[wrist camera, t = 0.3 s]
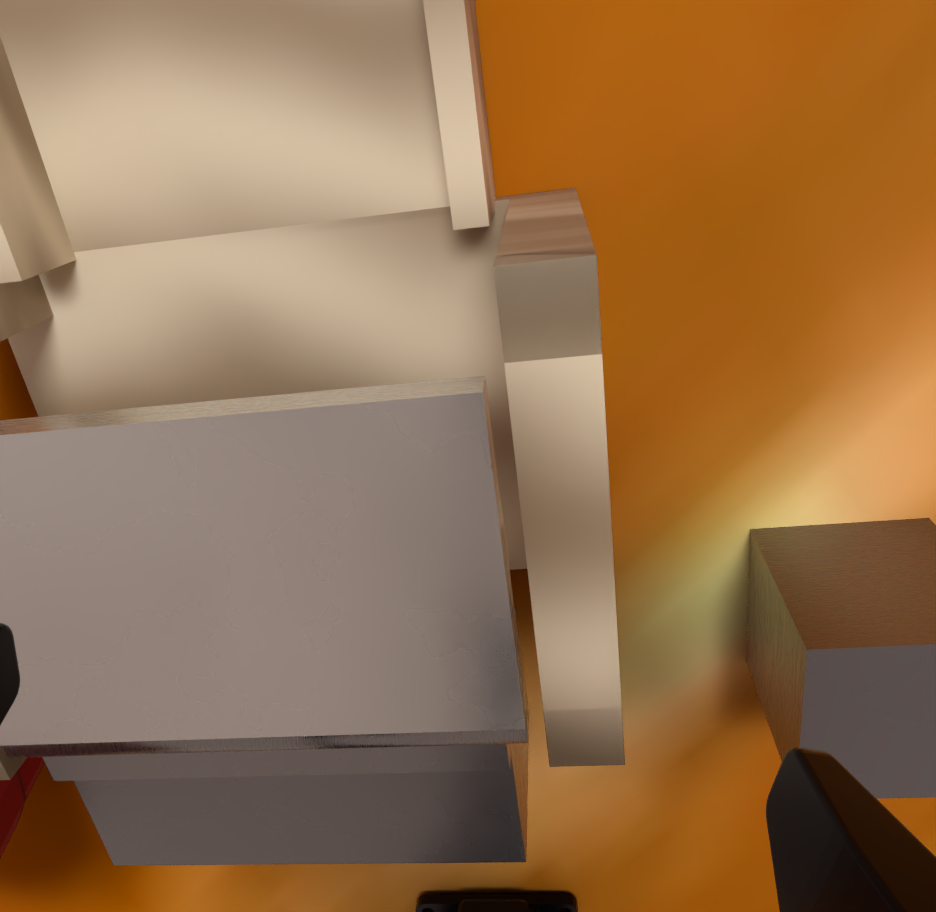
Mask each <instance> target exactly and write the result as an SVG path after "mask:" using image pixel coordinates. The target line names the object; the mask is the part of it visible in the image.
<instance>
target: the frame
mask: <svg viewBox="0 0 936 912" xmlns="http://www.w3.org/2000/svg"><path fill="white" fill-rule="evenodd" d="M7 338H8V341H9V343H10V346H11V348H12V351H13V353H14V356H15V358H16V361H17V364H18V366H19V369H20V371H21V374H22V376H23V379H24V381H25V384H26V386H27V389H28V391H29V394H30V396H31V399H32V401H33V404H34V406H35V409H36V412H37V414H38V417H41V416H52V415H63V414H74V413H85V412H96V411H107V410H118V409H129V408H139V407H150V406H161V405H172V404H183V403H194V402H205V401H216V400H226V399H237V398H248V397H259V396H270V395H281V394H292V393H303V392H313V391H324V390H335V389H346V388H357V387H368V386H379V385H390V384H401V383H411V382H422V381H433V380H444V379H455V378H466V377H477V376H485V377H486V385H487V393H488V401H489V409H490V417H491V425H492V433H493V441H494V449H495V457H496V465H497V473H498V481H499V489H500V497H501V505H502V513H503V521H504V529H505V537H506V545H507V553H508V561H509V569H510V570H512V569H527V570H528V579H529V588H530V597H531V605H532V614H533V623H534V632H535V641H536V650H537V659H538V667H539V676H540V685H541V694H542V703H543V712H544V721H545V730H546V738H547V747H548V756H549V765H550V767H556V766H597V765H625V758H624V740H623V722H622V704H621V686H620V668H619V650H618V632H617V614H616V596H615V578H614V560H613V542H612V524H611V506H610V488H609V470H608V452H607V434H606V416H605V398H604V380H603V362H602V344H601V326H600V308H599V290H598V272H597V255H596V252H595V249H594V245H593V242H592V239H591V236H590V233H589V230H588V226H587V223H586V220H585V217H584V214H583V210H582V207H581V204H580V201H579V198H578V195H577V191H576V188H570V189H562V190H554V191H546V192H538V193H529V194H521V195H513V196H505V197H497V198H496V197H495V187H494V178H493V169H492V160H491V150H490V141H489V132H488V122H487V113H486V104H485V94H484V85H483V76H482V66H481V57H480V48H479V39H478V29H477V20H476V11H475V1H474V0H0V341H2V340H5V339H7ZM26 758H27V757H26ZM26 758H10V757H8V756H7V755H6V753H5V751H4V745H3V746H0V780H11V778H12V777H13V776H14V774H15V773H16V772H17V770H18V769H19V768H20V766H21V765H22V764H23V762H24V761H25V760H26Z"/></svg>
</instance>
